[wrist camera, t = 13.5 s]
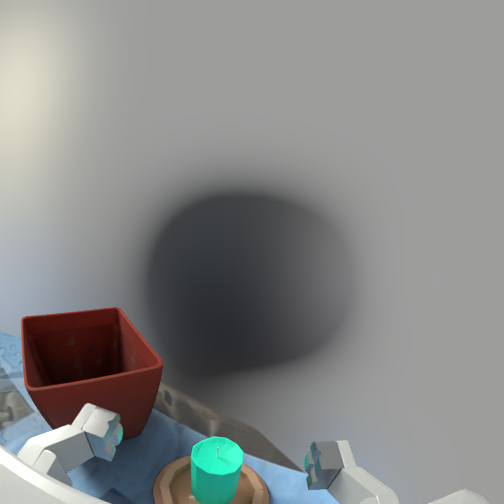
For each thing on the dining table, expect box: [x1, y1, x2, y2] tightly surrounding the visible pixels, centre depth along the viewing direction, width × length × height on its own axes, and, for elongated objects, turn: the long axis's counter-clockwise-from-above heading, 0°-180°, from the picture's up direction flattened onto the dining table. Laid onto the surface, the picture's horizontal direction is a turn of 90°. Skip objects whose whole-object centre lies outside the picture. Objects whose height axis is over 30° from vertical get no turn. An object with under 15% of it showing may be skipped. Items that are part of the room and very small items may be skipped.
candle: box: [191, 437, 243, 504], centre depth 27 cm, size 6×6×12 cm
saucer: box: [153, 455, 269, 504], centre depth 27 cm, size 16×16×2 cm
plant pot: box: [21, 307, 163, 440], centre depth 35 cm, size 19×19×17 cm
